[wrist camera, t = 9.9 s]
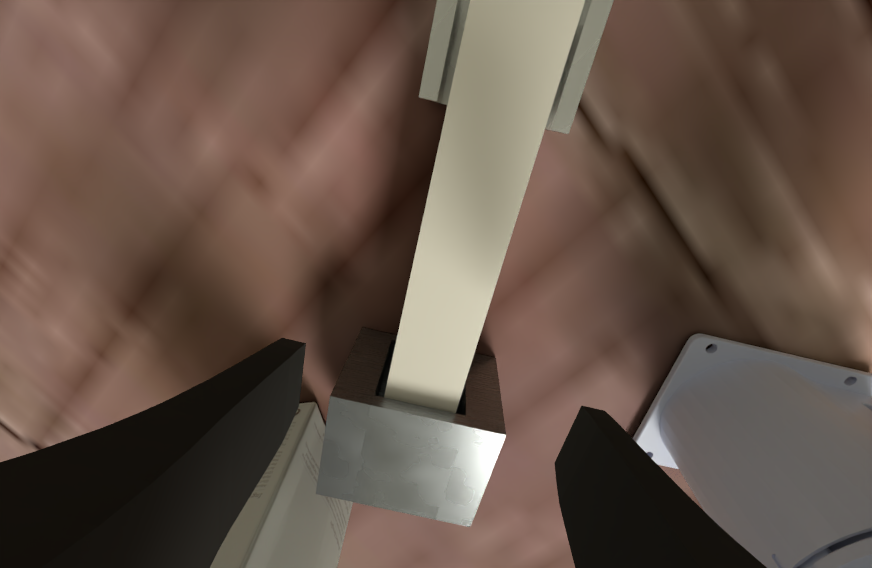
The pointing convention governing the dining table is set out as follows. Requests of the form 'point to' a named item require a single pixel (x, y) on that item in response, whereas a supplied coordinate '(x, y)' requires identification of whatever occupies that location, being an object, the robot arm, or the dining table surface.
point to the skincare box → (289, 508)
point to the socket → (409, 439)
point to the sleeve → (573, 78)
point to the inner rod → (477, 188)
